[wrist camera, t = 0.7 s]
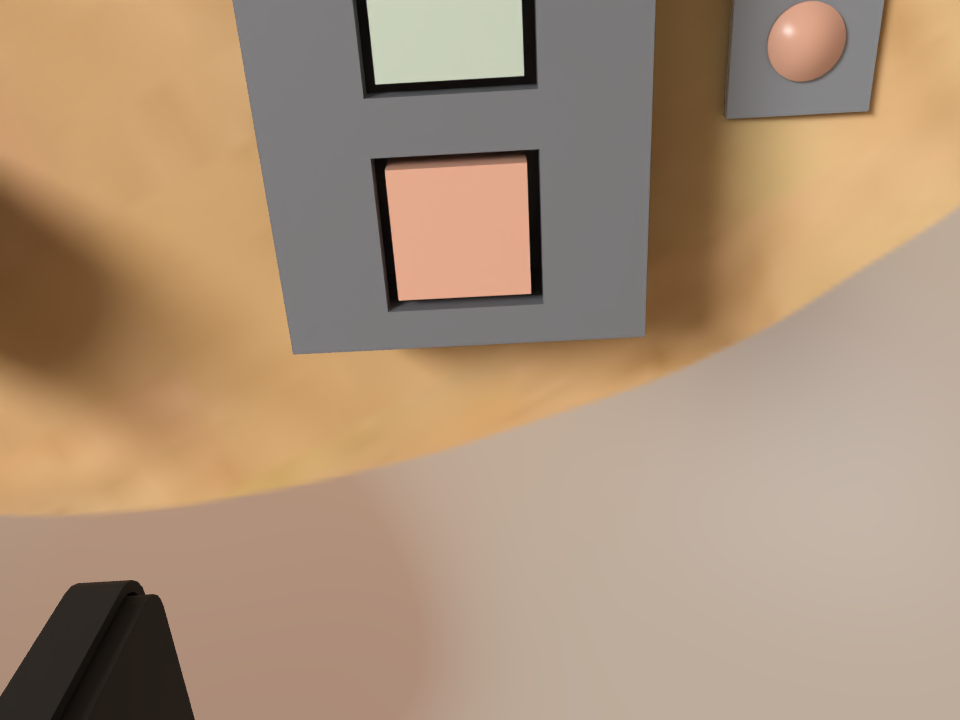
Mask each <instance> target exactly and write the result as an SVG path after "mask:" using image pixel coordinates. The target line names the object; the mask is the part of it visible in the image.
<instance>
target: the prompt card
mask: <svg viewBox="0 0 960 720" xmlns="http://www.w3.org/2000/svg"><path fill="white" fill-rule="evenodd" d="M883 6H884V0H732V2H731V17H730V31H729V46H728V60H727V75H726V90H725V104H724V117H725V118H726V119H739V118H756V117H774V116H792V115H810V114H827V113H845V112H863V111H869V104H870V97H871V90H872V83H873V76H874V69H875V62H876V55H877V48H878V41H879V34H880V27H881V20H882V13H883Z"/></svg>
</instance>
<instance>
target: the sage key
mask: <svg viewBox="0 0 960 720" xmlns="http://www.w3.org/2000/svg"><path fill="white" fill-rule="evenodd" d="M366 1H367V10H368V19H369V29H370V38H371V47H372V57H373V66H374V75H375V85H376V84H393V83H410V82H427V81H445V80H462V79H479V78H496V77H514V76H524V57H523V27H522V0H366Z"/></svg>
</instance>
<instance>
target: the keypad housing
mask: <svg viewBox="0 0 960 720" xmlns="http://www.w3.org/2000/svg"><path fill="white" fill-rule="evenodd" d="M232 1H233V7H234V12H235V18H236V24H237V30H238V36H239V41H240V47H241V53H242V59H243V65H244V71H245V76H246V82H247V88H248V94H249V100H250V106H251V111H252V117H253V123H254V129H255V135H256V140H257V146H258V152H259V158H260V164H261V170H262V175H263V181H264V187H265V193H266V199H267V204H268V210H269V216H270V222H271V228H272V234H273V239H274V245H275V251H276V257H277V263H278V268H279V274H280V280H281V286H282V292H283V298H284V303H285V309H286V315H287V321H288V327H289V333H290V338H291V344H292V350H293V354H311V353H331V352H351V351H371V350H391V349H411V348H431V347H450V346H470V345H490V344H510V343H530V342H550V341H570V340H590V339H609V338H629V337H645V318H646V286H647V255H648V224H649V193H650V161H651V130H652V99H653V68H654V36H655V5H656V0H522V27H523V57H524V76H514V77H496V78H479V79H462V80H445V81H427V82H410V83H393V84H376V85H375V75H374V66H373V57H372V47H371V38H370V29H369V19H368V10H367V1H366V0H232ZM516 150H525V154H526V160H527V180H528V211H529V242H530V273H531V294H517V295H498V296H479V297H459V298H440V299H421V300H401V301H399V299H398V290H397V280H396V271H395V262H394V252H393V243H392V234H391V224H390V215H389V206H388V196H387V187H386V178H385V168H386V165H387V162H388V159H389V158H390V157H408V156H426V155H444V154H462V153H480V152H498V151H516Z"/></svg>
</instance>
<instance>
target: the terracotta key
mask: <svg viewBox="0 0 960 720" xmlns="http://www.w3.org/2000/svg"><path fill="white" fill-rule="evenodd" d="M385 178H386V187H387V196H388V206H389V215H390V224H391V234H392V243H393V252H394V262H395V271H396V280H397V290H398V299H399V301H401V300H421V299H440V298H459V297H479V296H498V295H517V294H531V273H530V242H529V211H528V180H527V160H526V154H525V150H516V151H498V152H480V153H462V154H444V155H426V156H408V157H390V158H389V159H388V162H387V165H386V168H385Z"/></svg>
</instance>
